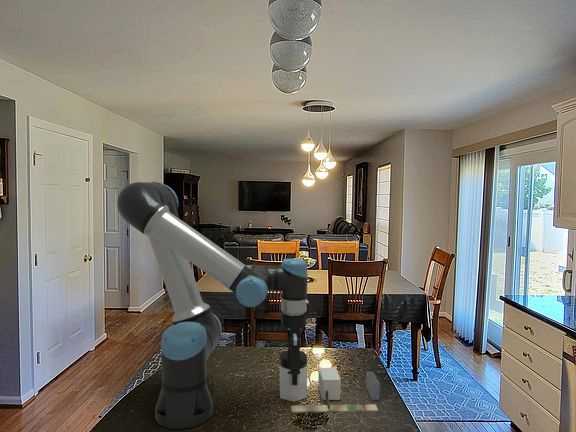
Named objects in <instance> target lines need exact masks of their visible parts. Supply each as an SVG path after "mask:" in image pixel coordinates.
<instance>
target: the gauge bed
mask: <svg viewBox="0 0 576 432" xmlns="http://www.w3.org/2000/svg"><path fill="white" fill-rule="evenodd" d="M290 411H291V413H293V414H295V413H296V414H299V413H300V414H302V413H303V414H304V413H311V414H312V413H351V412H352V413H355V412H356V413H360V412H361V413H363V412H365V413H367V412H379V409H378V407H377V405H376V404H373V403H372V404H371V403H370V404H369V403H368V404H364V403H363V404H330V407H328V406H327V404H323V405H322V404H321V405H319V404H314V405H312V404H310V405H306V404H305V405H290Z"/></svg>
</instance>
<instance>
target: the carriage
mask: <svg viewBox="0 0 576 432" xmlns="http://www.w3.org/2000/svg"><path fill="white" fill-rule="evenodd" d="M317 381H318V384H317V385H318V387H317V388H318V391H319V394H320V399H321V400H323V401H326V402H325V403H326V405H327V406H328V407H330V405H331V403H330V401H340V400H341V385H342V384H341V382H342V381H341V376H340V374H339V371H338V369H337V367H319V368H318V380H317Z"/></svg>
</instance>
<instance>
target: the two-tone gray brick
mask: <svg viewBox="0 0 576 432" xmlns="http://www.w3.org/2000/svg"><path fill="white" fill-rule="evenodd" d="M365 378H366V379H365V388H366V390H367V392H368V394H369V396H370V398H371V401H380V399H381V397H380V396H381V394H380V393H381V392H380V391H381V390H380V389H381V386H380V385H381V383H380V381H379V380H378V377H377V376H376V374H375V373H374V371H366V377H365Z"/></svg>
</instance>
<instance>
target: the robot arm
mask: <svg viewBox="0 0 576 432" xmlns="http://www.w3.org/2000/svg"><path fill="white" fill-rule="evenodd" d="M116 202H117V204H116V205H117V207H116V208H117V210H118V213H119V215H120V216H121V218H122V219H123V220H124V221H125V222H126V223H128V224H129V225H130V226H132V227H133V228H134V229H136V231H139V232H140V233H141V234H142V235H144V236H146V237H148V239H149V243H150V246H151V248H152V250H153V255H154V256H155V259H156V262H157V264H158V267H159V271H160V274H161V276H162V278H163V282H164V285H165V288H166V291H167V293H168V296H169V299H170V302H171V305H172V307H173V308H172V309H173V311H174V314H173V316H172V319H171V322H172V324H173V325H170V326H169V327H167V328H166V329H165V330H164V332H163V333H162V335H161V342H160V350H161V354H160V356H161V358H160V359H161V389H160V392H159V396H158V399H157V401H156V404H155V408H154V409H155V410H154V414H155V415H154V417H155V422H156V423H157V424H158V425H160V426H161V427H164V428H167V429H170V430H171V429H172V430H184V429H190V428H191V429H192V428H194V427H197V426H200V425H202V424H204V423H205V422H207V421H208V420H209V419H210V418H211V417H212V415H213V410H214V403H213V398H212V396H211V392H210V390H209V388H208V387H209V386H208V384H207V361H208V358H209V357H210V356H211V354H212V352H213V351H214V350H215V349H216V348H217V347H218V345H219V342H220V341H221V336H222V333H223V331H222V329H223V328H222V324H221V321H220V319H219V318H218V317H217V316H216V314H214V313H213V311H212V309H211V307H210V305H209V304H207V303H205V302H204V301H203V298H202V296H201V293H200V290H199V288H198V284H197V282H196V278H195V276H194V272H193V271H192V267H191V264H193V265H194V266H195V267H197V268H198V269H199V270H201V271H202V272H205V274H207V275H208V276H210V277H211V278H212V279H214V280H216V282H219V284H221V285H223V286H224V287H225V288H227V289H228V290H230V291H231V292H233V293H234V294H235V296H236V298H237V300H238V302H239V303H240V304H241V305H242V306H245V307H248V308H255V307H257V306H259V305H260V304H262V302H263V301H265V299H266V298H267V296H268V292H270V293H271V292H272V293H274V292H275V293H279V292H280V293H281V296H280V301H281V302H280V312H281V313H280V314H281V315H280V318H281V319H280V324H281V326H282V327H284V328H286V329H287V330H286V337H287V338H286V339H287V350H286V351H288V350H290V372H288V374H290V379H289V395H299V374H300V351H301V350H300V348H301V339H302V333H301V329H302V328H305V327H306V325H307V322H308V320H307V319H308V318H307V317H308V314H307V311H308V309H307V308H308V307H307V305H309V303H310V302H309V300H308V275H309V274H308V263H307V261H306V260H305V259H302V258H285V259H283V260H281V264H280V265H257V264H251V265H249V264H248V265H246V264H244V263H243V262H242V261H240V260H239V259H237V257H235V256H233V255H232V254H230V253H229V252H227V251H226V250H225V249H223V248H221V247H220V246H219V245H217V244H216V243H214V242H213V241H211V240H210V239H209V238H207V237H206V236H205V235H203V234H202V233H200V232H199V231H197V230H196V229H195V228H193V227H192V226H190V225H189V224H187V223H186V222H184V221H183V220H182V219H180V217H179V216H180V215H179V214H178V208H179V200H178V196H177V194H176V192H175V191H174V190H173V189H172V188H171V187H170V186H168V185H166V184H164V183H162V182H157V181H150V182H147V181H145V182H144V181H137V182H132V183H129V184H128V185H126V186H124V187H123V188H122V189H121V191H120V192H119V194H118V196H117V201H116ZM190 263H191V264H190Z"/></svg>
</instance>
